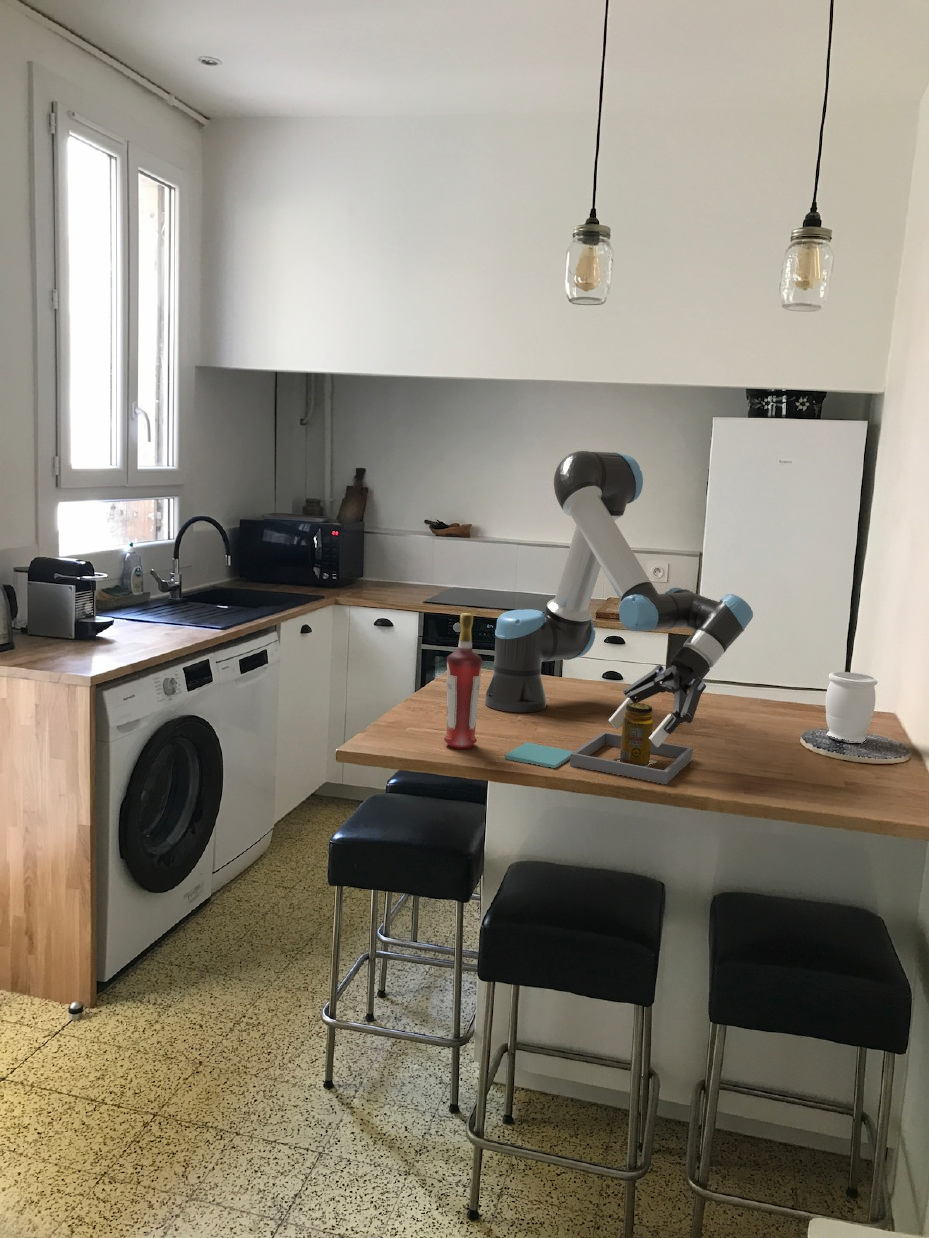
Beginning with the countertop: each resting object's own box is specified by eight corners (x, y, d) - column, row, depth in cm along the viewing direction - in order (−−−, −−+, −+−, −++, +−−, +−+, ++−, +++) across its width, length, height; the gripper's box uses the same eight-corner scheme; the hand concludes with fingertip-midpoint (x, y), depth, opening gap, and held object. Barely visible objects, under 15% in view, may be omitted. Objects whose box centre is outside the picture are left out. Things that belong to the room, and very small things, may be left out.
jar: (877, 740, 224) (885, 677, 222) (860, 748, 217) (868, 683, 214) (832, 730, 231) (839, 669, 229) (814, 738, 224) (821, 674, 221)
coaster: (504, 758, 196) (504, 754, 196) (526, 745, 206) (526, 742, 206) (555, 768, 191) (555, 764, 191) (574, 755, 201) (575, 751, 201)
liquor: (441, 740, 207) (447, 611, 202) (475, 741, 207) (482, 612, 203) (443, 750, 199) (450, 616, 195) (479, 751, 200) (486, 618, 196)
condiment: (657, 762, 199) (662, 705, 197) (639, 771, 192) (644, 713, 190) (625, 754, 203) (629, 699, 201) (606, 763, 196) (610, 706, 194)
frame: (569, 765, 194) (570, 753, 193) (602, 742, 211) (603, 731, 210) (665, 784, 185) (666, 772, 184) (691, 759, 202) (692, 747, 202)
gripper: (747, 682, 191) (681, 763, 187) (667, 657, 213) (606, 729, 209) (729, 657, 188) (661, 738, 183) (649, 634, 210) (587, 706, 205)
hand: (632, 733), depth 196 cm, fingers open, 13 cm apart
